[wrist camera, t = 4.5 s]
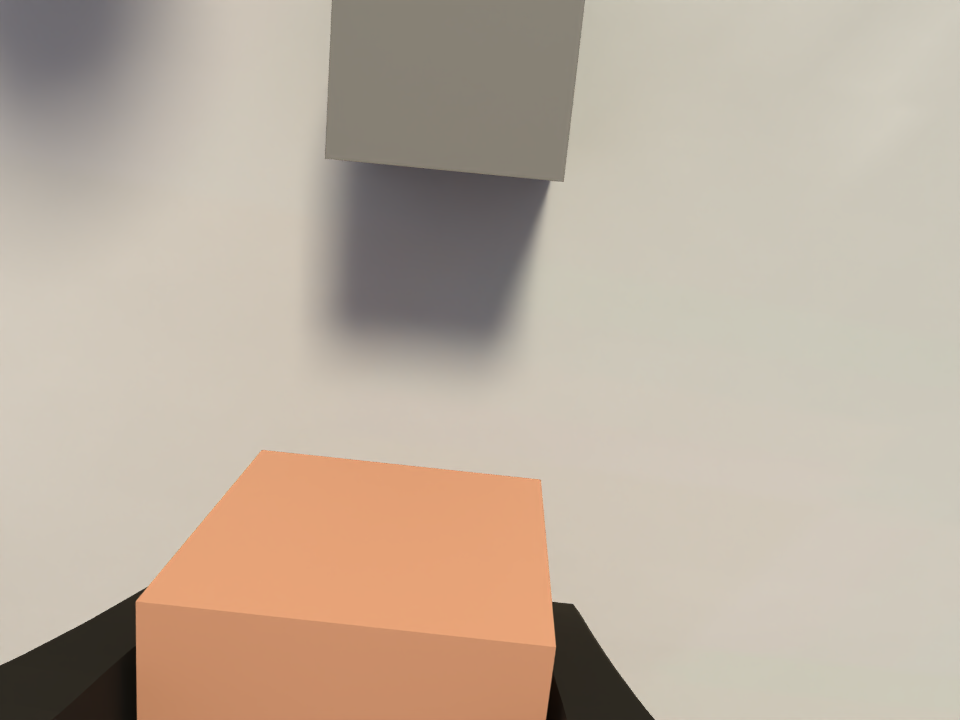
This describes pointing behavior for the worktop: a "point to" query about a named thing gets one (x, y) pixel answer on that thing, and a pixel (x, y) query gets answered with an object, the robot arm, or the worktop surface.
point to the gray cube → (454, 84)
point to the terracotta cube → (353, 599)
